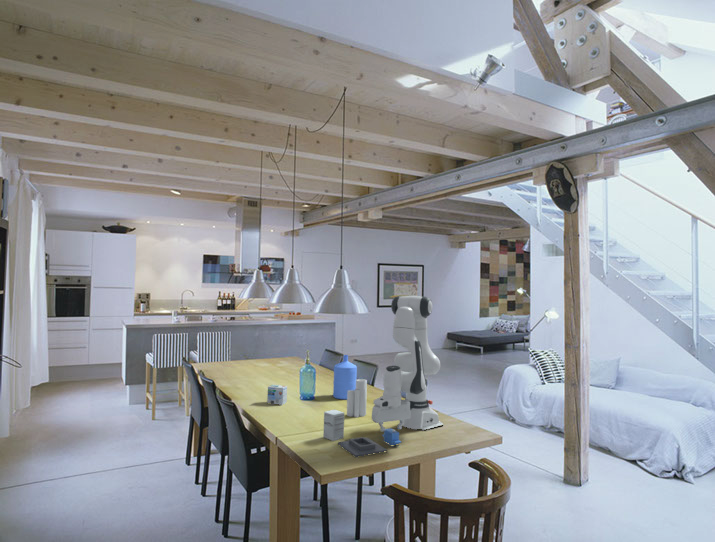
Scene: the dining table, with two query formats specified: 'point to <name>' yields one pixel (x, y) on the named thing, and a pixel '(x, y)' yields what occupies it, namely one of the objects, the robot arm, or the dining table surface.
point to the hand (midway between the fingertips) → (391, 430)
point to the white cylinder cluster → (357, 399)
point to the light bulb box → (277, 394)
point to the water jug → (344, 378)
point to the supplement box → (333, 425)
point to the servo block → (391, 436)
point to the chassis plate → (361, 446)
